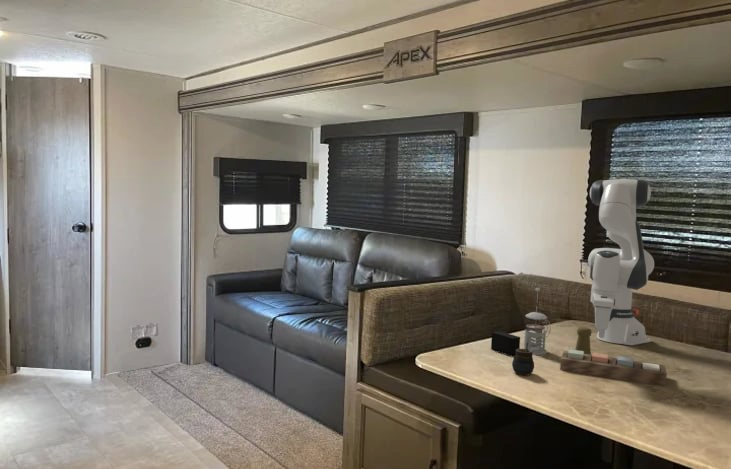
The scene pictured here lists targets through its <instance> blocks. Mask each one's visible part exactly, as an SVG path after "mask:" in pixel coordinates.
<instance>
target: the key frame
mask: <svg viewBox="0 0 731 469" xmlns="http://www.w3.org/2000/svg"><path fill="white" fill-rule="evenodd" d="M568 351H569V350H568ZM568 351H567V350H563V352H562V354H561V357H560V364H559V370H560V371H565V372H573V373H578V374H586V375H591V376H597V377H604V378H611V379H617V380H618V379H619V380H623V381H629V382H630V381H631V382H635V383H636V382H637V383H642V384H649V385H655V386H662V387H666V386H667V376H668V375H667V374H668V373H667V369H666V365H664V364H658V363H655V364H656V365H659V368H660V371H655V370H648V369H642V365H643V363H646V361H645V362H643V361H637V360H633V367H628V366H621V365H617V357H609V356H608V363H601V362H594V361H592V355H593V354H591V355H589V354H584V358H583V360H581V359H574V358H568ZM648 363H649V364H653V363H650V362H648Z"/></svg>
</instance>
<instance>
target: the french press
mask: <svg viewBox="0 0 731 469" xmlns="http://www.w3.org/2000/svg"><path fill="white" fill-rule="evenodd" d="M534 290H535V291H536V292H537V294H536V296H537V297H536V302H538V299H539V298H538V297H539V292H541V288H540V287H536V288H535V289H534ZM525 318H527V319H530V320H535V321H541V323H542V324H546V326H544V325H540V324H537V323H535V324H534V323H533V324H531V323H529V324H526V326H525V327H526V328H525V329H524V340H523V347H522V348H521V349H526V342H527V343H528V347H527V349H528V350H531V351H532V352H533V354H532V355H535V356H537V355H538V356H539V355H541V356H542V355H547V354H548V351H547V350H546V338H548V336H549V335H550V333H551V327H552V326H551V323H550V321H549V320H548V316H547V315H545V314H544V313H541V312H538V307H536V310H535V311H532V312H529V313H527V314H525ZM548 324H549V325H548ZM548 328H549V329H548ZM545 329H546V330H545ZM548 330H549V331H548ZM547 333H548V334H547ZM546 334H547V335H546Z"/></svg>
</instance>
